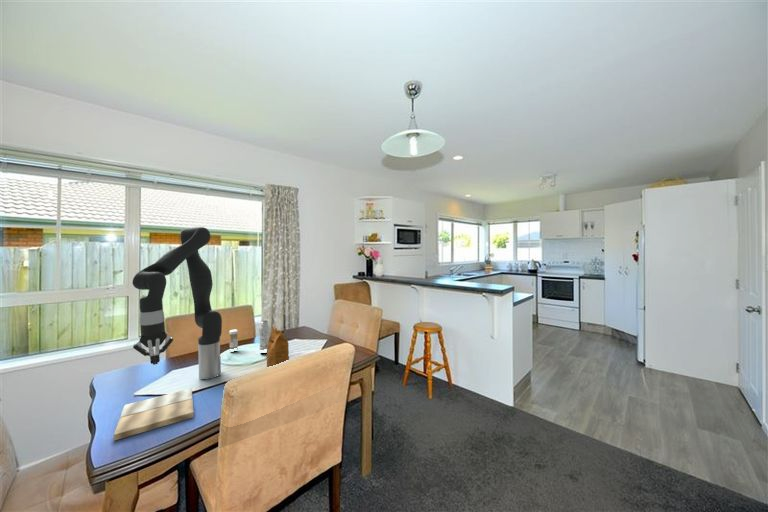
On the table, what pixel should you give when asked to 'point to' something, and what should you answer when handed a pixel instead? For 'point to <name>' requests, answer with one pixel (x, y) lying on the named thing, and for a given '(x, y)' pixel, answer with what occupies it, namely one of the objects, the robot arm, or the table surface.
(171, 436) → the table surface
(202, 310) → the robot arm
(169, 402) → the grey-washed plank
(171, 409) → the honey oak plank
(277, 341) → the coffee package
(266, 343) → the plastic bottle
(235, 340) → the sprinkles bottle
